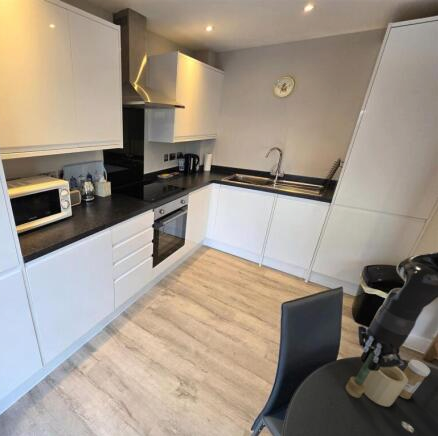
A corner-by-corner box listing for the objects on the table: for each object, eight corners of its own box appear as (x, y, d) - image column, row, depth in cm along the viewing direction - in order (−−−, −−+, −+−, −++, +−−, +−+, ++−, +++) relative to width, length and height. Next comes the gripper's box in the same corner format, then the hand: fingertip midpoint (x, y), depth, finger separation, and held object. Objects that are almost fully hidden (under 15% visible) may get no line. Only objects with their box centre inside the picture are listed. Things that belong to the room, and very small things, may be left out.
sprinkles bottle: (388, 387, 84) (407, 360, 79) (398, 384, 85) (416, 357, 80) (404, 401, 80) (424, 373, 75) (413, 398, 81) (434, 370, 76)
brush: (358, 389, 81) (380, 352, 75) (362, 400, 78) (385, 362, 71) (344, 383, 83) (364, 346, 76) (346, 393, 80) (368, 356, 73)
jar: (386, 388, 84) (401, 366, 79) (396, 411, 77) (412, 389, 73) (357, 376, 87) (370, 355, 83) (363, 398, 80) (377, 375, 76)
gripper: (431, 344, 63) (401, 388, 70) (382, 306, 76) (360, 346, 82) (404, 344, 63) (376, 388, 69) (359, 305, 75) (339, 346, 82)
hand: (368, 365), depth 76 cm, fingers closed on brush, 2 cm apart
